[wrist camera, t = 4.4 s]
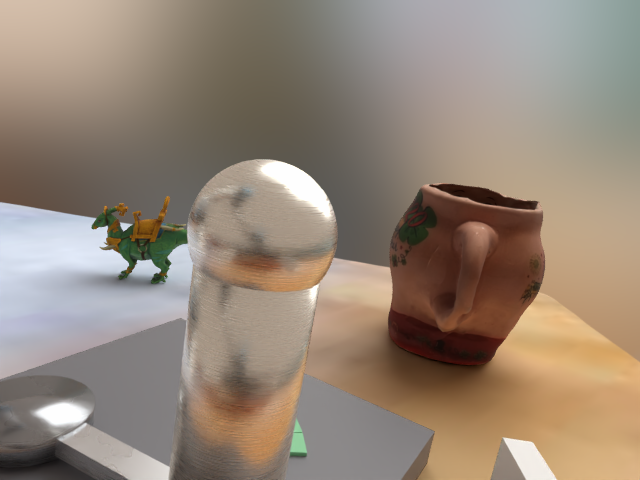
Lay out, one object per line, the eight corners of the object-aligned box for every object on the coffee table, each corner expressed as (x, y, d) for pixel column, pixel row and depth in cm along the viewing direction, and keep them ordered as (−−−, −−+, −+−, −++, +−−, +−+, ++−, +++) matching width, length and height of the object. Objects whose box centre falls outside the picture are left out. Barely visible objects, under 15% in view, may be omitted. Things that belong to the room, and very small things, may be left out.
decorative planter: (546, 433, 34) (608, 229, 31) (363, 391, 35) (405, 191, 32) (493, 323, 53) (528, 191, 50) (376, 299, 55) (403, 168, 51)
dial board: (-167, 480, 21) (-169, 432, 20) (177, 343, 37) (180, 315, 37) (172, 855, 12) (182, 789, 12) (427, 462, 29) (435, 428, 28)
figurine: (92, 267, 50) (98, 183, 48) (219, 280, 52) (229, 201, 50) (83, 277, 47) (89, 188, 45) (218, 291, 49) (229, 207, 47)
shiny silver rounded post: (-68, 434, 21) (-70, 93, 18) (42, 386, 26) (56, 106, 22) (232, 625, 16) (304, 178, 12) (306, 520, 20) (372, 173, 17)
